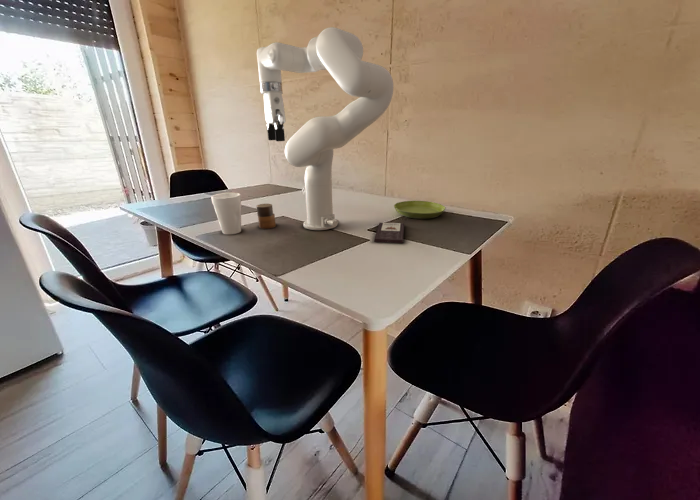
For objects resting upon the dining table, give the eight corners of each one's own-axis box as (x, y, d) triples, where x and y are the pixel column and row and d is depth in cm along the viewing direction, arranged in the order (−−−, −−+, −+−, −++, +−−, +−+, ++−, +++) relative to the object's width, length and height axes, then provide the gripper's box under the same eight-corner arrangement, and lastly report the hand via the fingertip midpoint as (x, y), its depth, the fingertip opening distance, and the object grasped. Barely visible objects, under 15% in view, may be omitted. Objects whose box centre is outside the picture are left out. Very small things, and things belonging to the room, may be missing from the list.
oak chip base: (278, 226, 116) (278, 220, 115) (264, 229, 112) (263, 224, 111) (270, 223, 120) (269, 217, 119) (256, 226, 116) (255, 220, 115)
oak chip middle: (278, 220, 115) (277, 214, 115) (263, 224, 111) (263, 218, 111) (269, 217, 119) (268, 211, 118) (255, 220, 115) (254, 215, 115)
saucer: (392, 220, 121) (392, 211, 120) (394, 207, 140) (394, 200, 139) (447, 221, 118) (448, 213, 117) (441, 208, 137) (442, 201, 136)
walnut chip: (276, 214, 115) (275, 205, 113) (262, 217, 111) (261, 208, 110) (268, 212, 118) (266, 202, 117) (254, 215, 115) (253, 205, 113)
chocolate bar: (374, 239, 98) (379, 222, 115) (374, 241, 99) (379, 224, 115) (403, 240, 97) (404, 223, 113) (402, 243, 97) (404, 225, 114)
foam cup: (218, 237, 105) (211, 199, 100) (217, 229, 113) (210, 194, 108) (247, 233, 109) (241, 196, 104) (244, 226, 117) (239, 191, 112)
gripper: (289, 87, 104) (293, 141, 110) (274, 91, 118) (279, 139, 125) (267, 86, 101) (273, 142, 107) (254, 91, 115) (260, 140, 121)
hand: (276, 140), depth 116 cm, fingers open, 9 cm apart
